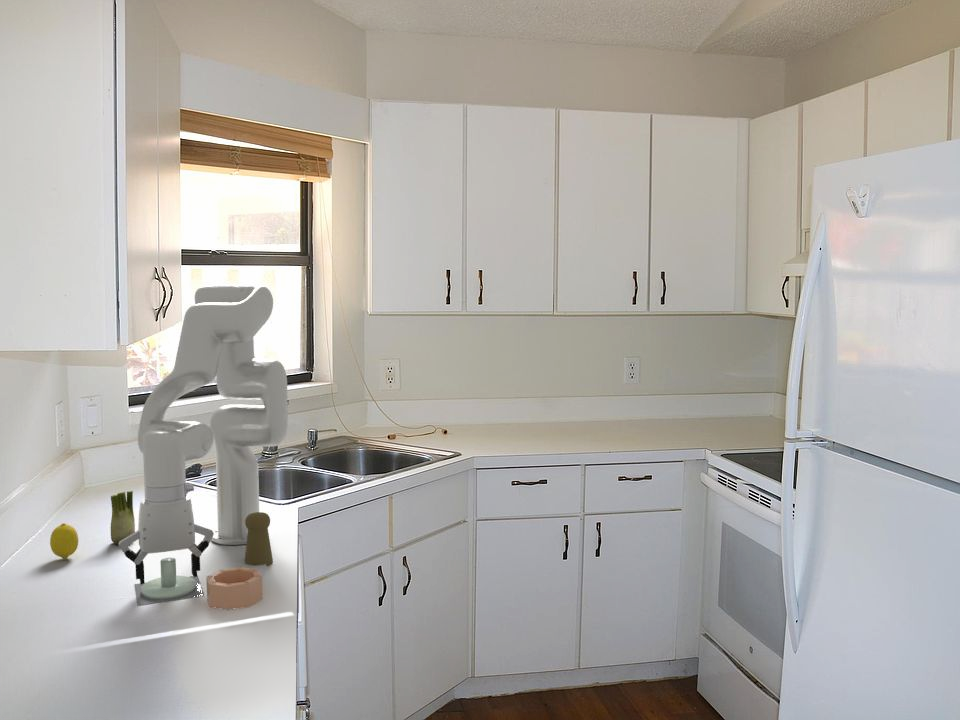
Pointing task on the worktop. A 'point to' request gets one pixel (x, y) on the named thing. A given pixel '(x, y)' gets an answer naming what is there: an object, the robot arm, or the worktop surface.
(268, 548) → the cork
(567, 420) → the worktop surface
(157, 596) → the lid
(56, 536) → the lemon
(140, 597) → the mat
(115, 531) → the fennel bulb
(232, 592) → the bowl
